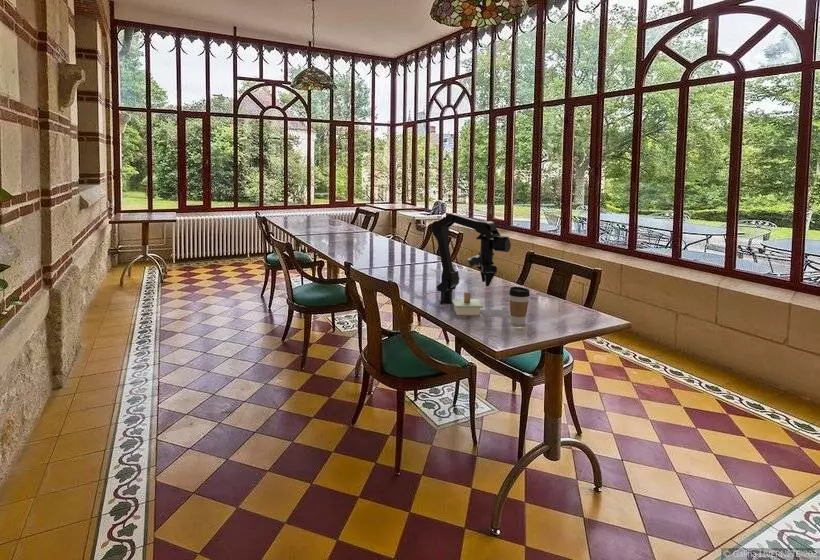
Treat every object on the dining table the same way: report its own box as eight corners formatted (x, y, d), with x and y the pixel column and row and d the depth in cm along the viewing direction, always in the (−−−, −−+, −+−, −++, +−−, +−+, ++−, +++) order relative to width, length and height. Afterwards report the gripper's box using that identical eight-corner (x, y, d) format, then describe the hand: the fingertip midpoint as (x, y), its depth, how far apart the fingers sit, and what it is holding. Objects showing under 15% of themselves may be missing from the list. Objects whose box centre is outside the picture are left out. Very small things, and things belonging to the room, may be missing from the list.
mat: (478, 310, 242) (478, 309, 242) (504, 310, 243) (504, 309, 243) (482, 317, 231) (482, 316, 231) (510, 317, 231) (510, 316, 231)
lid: (451, 301, 242) (452, 289, 241) (478, 301, 243) (478, 289, 242) (455, 308, 230) (455, 295, 229) (482, 308, 231) (483, 295, 230)
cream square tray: (454, 310, 242) (454, 301, 241) (475, 310, 242) (476, 301, 242) (457, 316, 232) (457, 307, 231) (479, 316, 233) (480, 307, 232)
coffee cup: (515, 319, 228) (516, 285, 225) (532, 323, 223) (534, 288, 219) (503, 323, 223) (505, 288, 220) (520, 327, 217) (522, 291, 214)
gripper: (465, 246, 247) (464, 279, 250) (472, 253, 228) (470, 288, 232) (489, 247, 247) (488, 279, 250) (498, 253, 229) (496, 288, 232)
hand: (485, 284), depth 241 cm, fingers open, 9 cm apart
